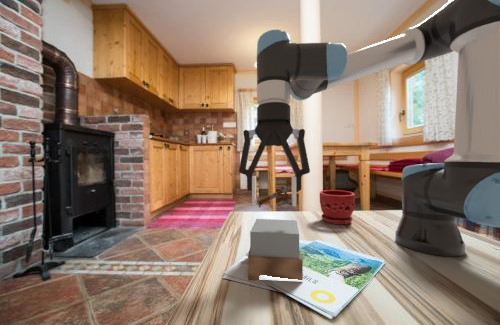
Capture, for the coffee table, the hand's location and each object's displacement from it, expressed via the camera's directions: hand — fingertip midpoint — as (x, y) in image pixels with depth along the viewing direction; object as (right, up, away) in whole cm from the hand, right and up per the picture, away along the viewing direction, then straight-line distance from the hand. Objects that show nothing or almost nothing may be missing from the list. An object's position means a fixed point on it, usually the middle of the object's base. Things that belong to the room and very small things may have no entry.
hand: (273, 204), depth 48 cm
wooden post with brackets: (0, -1, 0) cm, 1 cm away
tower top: (0, -10, 0) cm, 10 cm away
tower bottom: (0, -15, 0) cm, 15 cm away
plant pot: (+30, -14, +37) cm, 50 cm away
